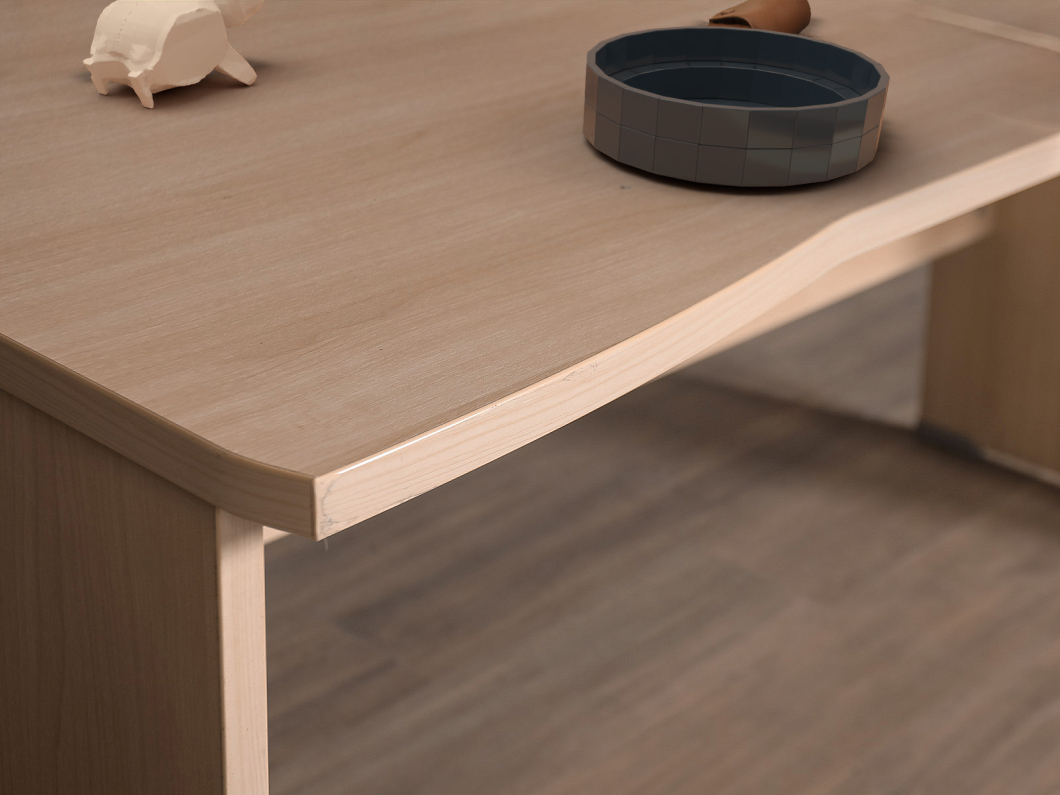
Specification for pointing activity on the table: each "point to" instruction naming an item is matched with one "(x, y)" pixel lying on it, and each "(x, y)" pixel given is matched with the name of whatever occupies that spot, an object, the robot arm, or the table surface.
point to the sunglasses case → (766, 16)
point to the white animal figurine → (167, 44)
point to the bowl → (734, 105)
